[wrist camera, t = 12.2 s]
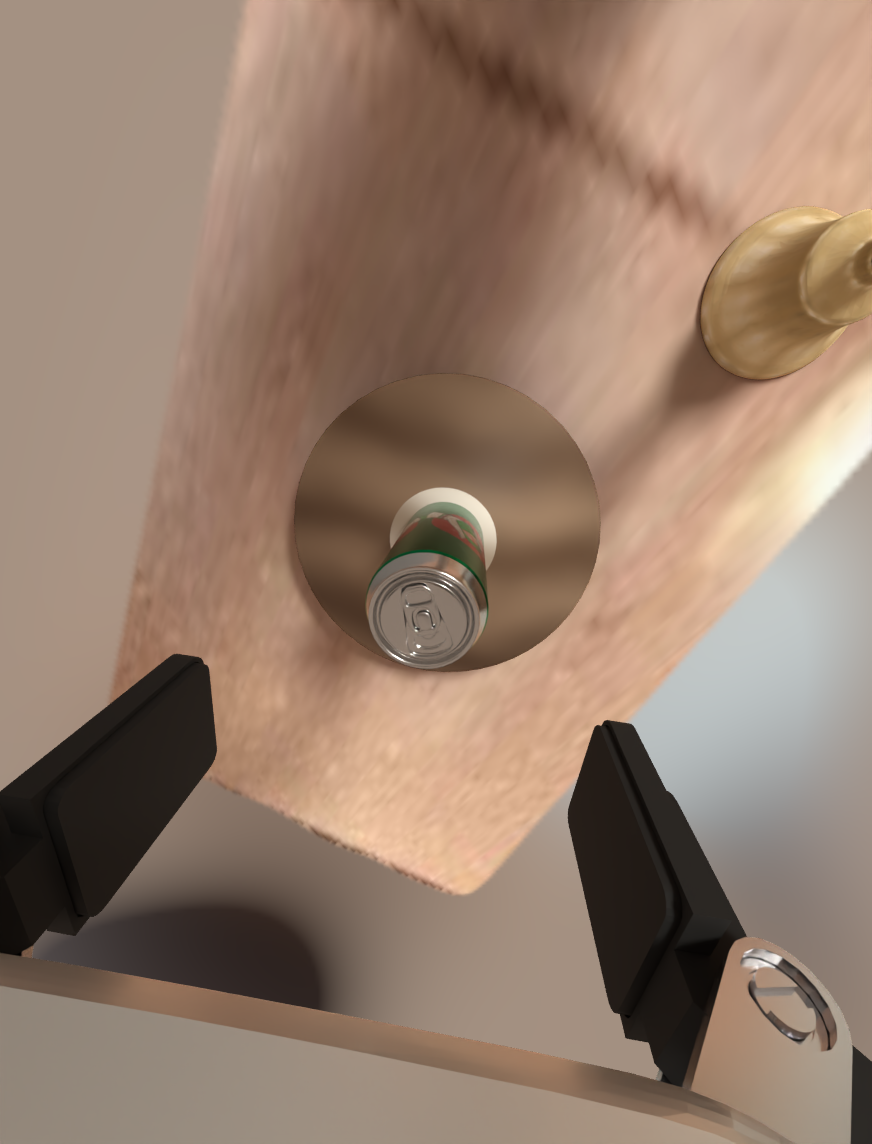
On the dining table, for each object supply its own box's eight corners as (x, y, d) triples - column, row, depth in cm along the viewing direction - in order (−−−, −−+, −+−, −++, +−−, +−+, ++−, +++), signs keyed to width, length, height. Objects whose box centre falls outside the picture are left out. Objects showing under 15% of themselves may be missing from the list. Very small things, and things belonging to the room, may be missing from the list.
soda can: (416, 581, 28) (379, 686, 17) (396, 509, 27) (341, 573, 16) (490, 566, 28) (501, 667, 16) (474, 492, 26) (474, 545, 15)
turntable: (303, 357, 26) (293, 353, 24) (630, 397, 25) (641, 395, 23) (302, 640, 33) (294, 651, 31) (557, 678, 32) (561, 691, 30)
